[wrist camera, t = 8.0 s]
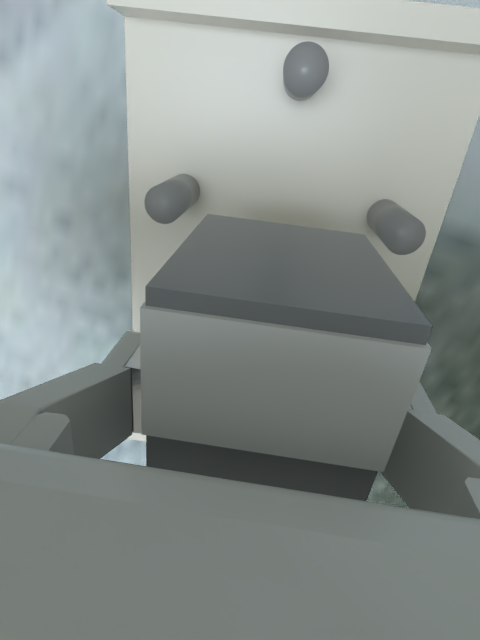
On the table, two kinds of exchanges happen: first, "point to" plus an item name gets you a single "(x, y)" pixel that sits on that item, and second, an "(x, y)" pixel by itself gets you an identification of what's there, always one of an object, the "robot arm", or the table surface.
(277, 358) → the block
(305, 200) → the peg board
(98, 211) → the table surface
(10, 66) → the table surface
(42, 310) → the table surface
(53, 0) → the table surface
